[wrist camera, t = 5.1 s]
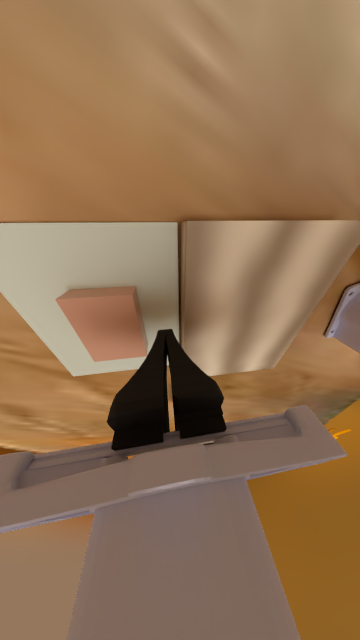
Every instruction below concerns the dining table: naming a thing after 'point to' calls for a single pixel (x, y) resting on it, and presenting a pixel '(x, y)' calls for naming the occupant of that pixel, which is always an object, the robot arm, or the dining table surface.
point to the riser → (255, 286)
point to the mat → (89, 279)
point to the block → (106, 321)
